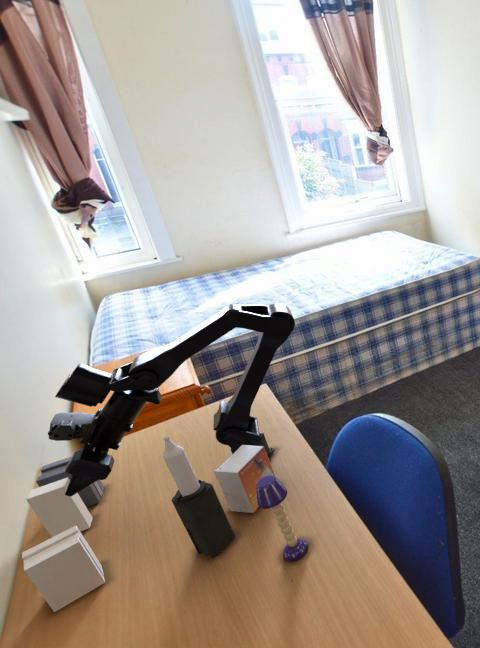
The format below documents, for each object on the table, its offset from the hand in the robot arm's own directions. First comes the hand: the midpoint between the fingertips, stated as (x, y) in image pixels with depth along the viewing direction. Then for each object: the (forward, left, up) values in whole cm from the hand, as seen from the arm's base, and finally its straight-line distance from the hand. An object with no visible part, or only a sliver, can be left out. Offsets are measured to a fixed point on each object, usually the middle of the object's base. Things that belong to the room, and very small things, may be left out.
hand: (74, 480), depth 91 cm
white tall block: (+3, +2, -11) cm, 11 cm away
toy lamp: (-45, +11, -11) cm, 48 cm away
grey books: (+8, -6, -11) cm, 15 cm away
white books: (-9, +15, -11) cm, 21 cm away
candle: (-29, +8, -11) cm, 32 cm away
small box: (-31, -3, -11) cm, 33 cm away
